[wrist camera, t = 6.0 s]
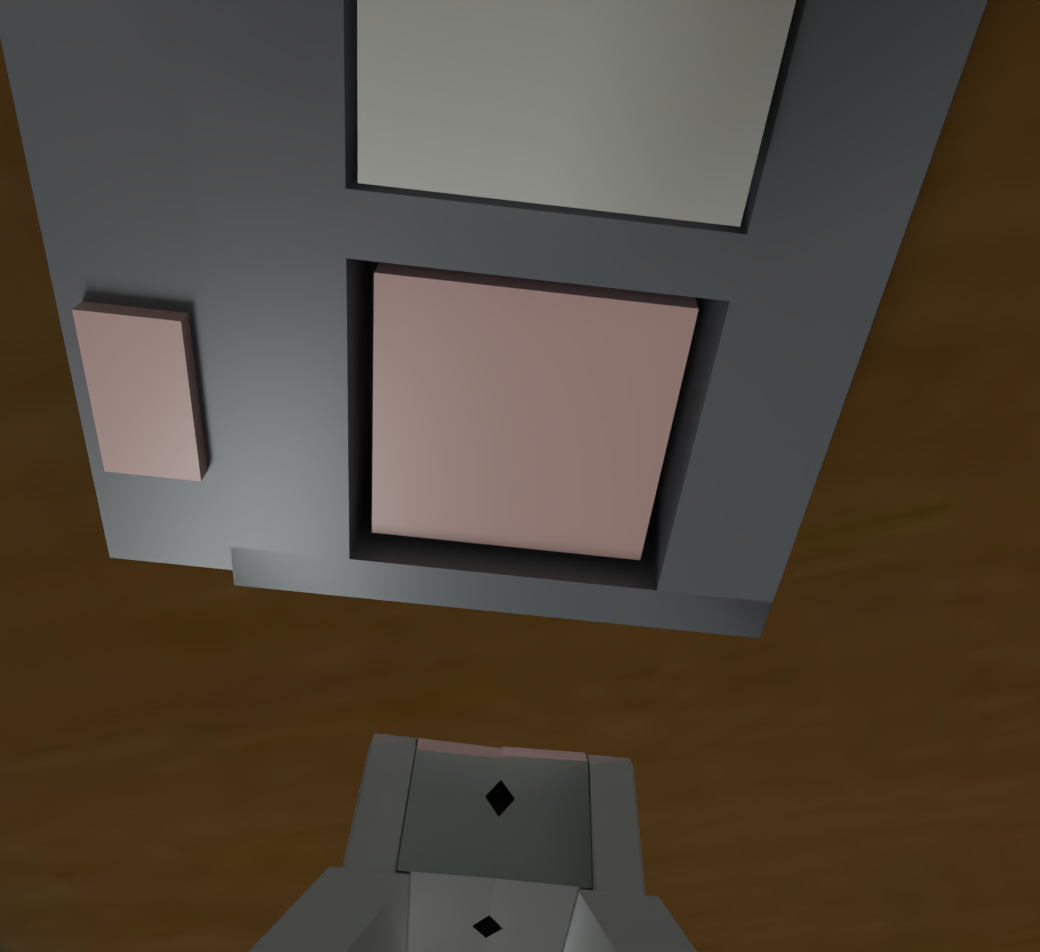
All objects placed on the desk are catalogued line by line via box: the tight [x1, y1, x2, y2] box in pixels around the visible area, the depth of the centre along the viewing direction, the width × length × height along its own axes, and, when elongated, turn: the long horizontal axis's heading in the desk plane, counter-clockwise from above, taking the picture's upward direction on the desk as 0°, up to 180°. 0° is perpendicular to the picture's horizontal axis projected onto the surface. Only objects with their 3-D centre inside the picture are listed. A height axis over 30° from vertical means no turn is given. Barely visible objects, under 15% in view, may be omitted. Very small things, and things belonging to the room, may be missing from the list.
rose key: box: [372, 262, 699, 560], centre depth 18 cm, size 6×6×2 cm
